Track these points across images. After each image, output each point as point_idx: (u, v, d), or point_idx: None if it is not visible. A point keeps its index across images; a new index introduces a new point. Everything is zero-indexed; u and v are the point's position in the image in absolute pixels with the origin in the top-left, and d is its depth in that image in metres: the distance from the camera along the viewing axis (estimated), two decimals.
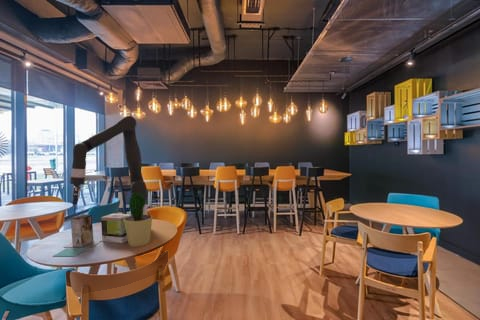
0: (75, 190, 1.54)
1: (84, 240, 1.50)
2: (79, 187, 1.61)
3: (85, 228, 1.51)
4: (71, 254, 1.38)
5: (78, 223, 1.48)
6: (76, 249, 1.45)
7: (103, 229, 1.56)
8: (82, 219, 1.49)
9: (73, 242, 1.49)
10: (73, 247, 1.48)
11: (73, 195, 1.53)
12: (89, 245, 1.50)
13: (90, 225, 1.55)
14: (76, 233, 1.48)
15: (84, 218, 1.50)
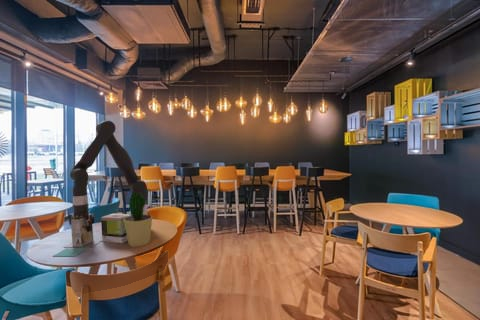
0: (92, 217, 1.52)
1: (84, 240, 1.50)
2: None
3: (85, 228, 1.51)
4: (71, 254, 1.38)
5: (78, 223, 1.48)
6: (76, 249, 1.45)
7: (103, 229, 1.56)
8: (82, 219, 1.49)
9: (73, 242, 1.49)
10: (73, 247, 1.48)
11: (91, 222, 1.51)
12: (89, 245, 1.50)
13: None
14: (76, 233, 1.48)
15: (84, 218, 1.50)
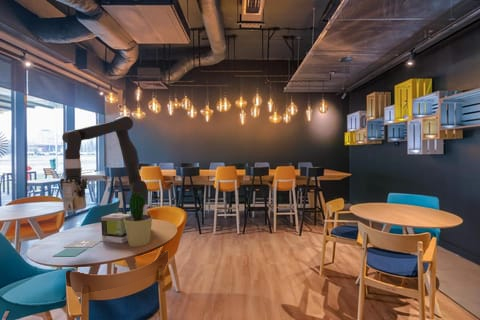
0: (85, 181, 1.46)
1: (75, 205, 1.44)
2: None
3: (77, 193, 1.45)
4: (71, 254, 1.38)
5: (70, 187, 1.42)
6: (76, 249, 1.45)
7: (103, 229, 1.56)
8: (74, 183, 1.43)
9: (64, 207, 1.43)
10: (73, 247, 1.48)
11: (84, 187, 1.45)
12: (89, 245, 1.50)
13: None
14: (68, 197, 1.42)
15: (76, 182, 1.44)
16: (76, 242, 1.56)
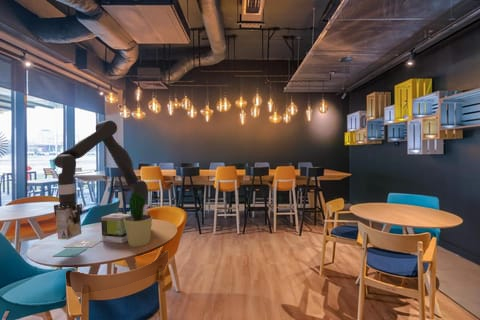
0: (80, 207, 1.39)
1: (70, 232, 1.38)
2: None
3: (71, 220, 1.38)
4: (71, 254, 1.38)
5: (64, 214, 1.35)
6: (76, 249, 1.45)
7: (103, 229, 1.56)
8: (68, 210, 1.37)
9: (58, 235, 1.37)
10: (73, 247, 1.48)
11: (79, 213, 1.39)
12: (89, 245, 1.50)
13: None
14: (62, 225, 1.36)
15: (71, 209, 1.38)
16: (76, 242, 1.56)
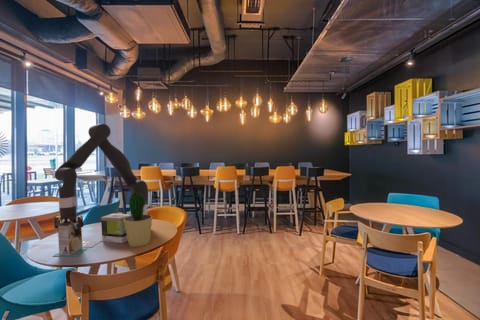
0: (81, 219, 1.40)
1: (72, 248, 1.38)
2: None
3: (73, 235, 1.39)
4: (71, 254, 1.38)
5: (66, 230, 1.36)
6: None
7: (103, 229, 1.56)
8: (71, 225, 1.37)
9: (60, 250, 1.37)
10: None
11: (80, 225, 1.39)
12: (89, 245, 1.50)
13: None
14: (64, 240, 1.36)
15: None
16: None
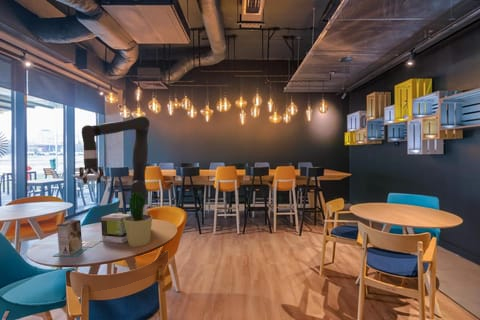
0: (101, 169, 1.65)
1: (72, 248, 1.38)
2: None
3: (73, 235, 1.39)
4: (71, 254, 1.38)
5: (65, 230, 1.36)
6: None
7: (103, 229, 1.56)
8: (70, 225, 1.37)
9: (60, 251, 1.37)
10: None
11: (101, 174, 1.65)
12: (89, 245, 1.50)
13: (79, 232, 1.43)
14: (64, 241, 1.36)
15: (72, 224, 1.39)
16: None
